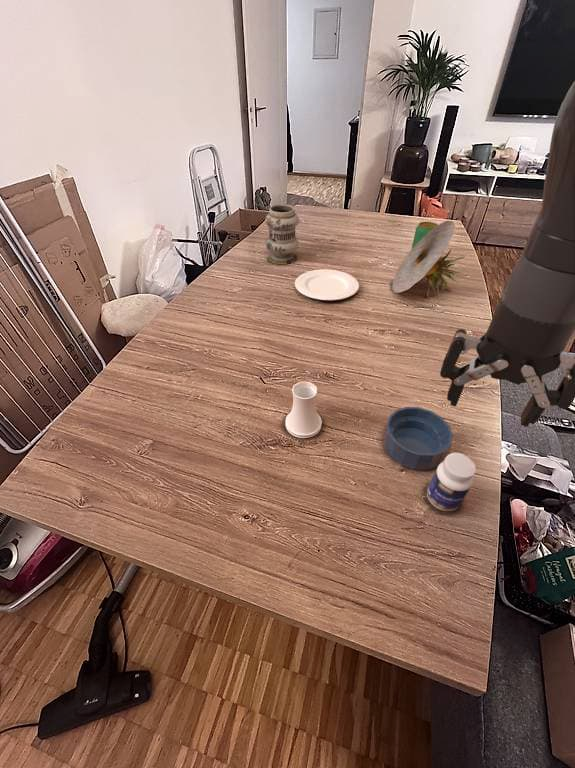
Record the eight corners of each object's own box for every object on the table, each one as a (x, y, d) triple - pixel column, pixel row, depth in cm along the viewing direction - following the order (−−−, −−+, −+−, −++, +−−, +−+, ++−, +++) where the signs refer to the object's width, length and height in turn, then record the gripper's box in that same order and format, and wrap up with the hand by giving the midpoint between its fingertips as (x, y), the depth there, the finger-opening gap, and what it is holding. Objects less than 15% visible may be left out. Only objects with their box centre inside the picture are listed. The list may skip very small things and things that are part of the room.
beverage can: (428, 253, 143) (436, 220, 135) (434, 262, 137) (443, 229, 129) (407, 253, 143) (414, 221, 135) (412, 262, 137) (420, 229, 129)
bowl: (456, 447, 74) (464, 430, 71) (423, 483, 68) (430, 466, 65) (405, 414, 81) (410, 398, 77) (370, 444, 75) (374, 428, 71)
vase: (312, 443, 75) (314, 408, 68) (279, 430, 78) (278, 395, 71) (326, 418, 80) (330, 383, 73) (295, 407, 83) (295, 372, 76)
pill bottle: (426, 508, 64) (442, 475, 58) (425, 480, 69) (440, 446, 62) (461, 516, 63) (481, 483, 57) (458, 487, 68) (477, 453, 61)
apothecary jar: (280, 268, 133) (279, 216, 121) (259, 257, 140) (256, 207, 128) (305, 259, 139) (306, 208, 127) (284, 249, 146) (284, 200, 134)
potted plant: (420, 333, 116) (497, 279, 102) (383, 293, 111) (459, 231, 98) (415, 301, 136) (479, 253, 122) (383, 266, 131) (446, 212, 118)
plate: (281, 289, 122) (281, 284, 121) (321, 268, 133) (321, 263, 132) (332, 312, 112) (333, 306, 110) (371, 287, 123) (371, 282, 122)
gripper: (465, 304, 38) (427, 414, 49) (633, 336, 33) (550, 450, 44) (471, 273, 43) (436, 379, 54) (619, 298, 39) (547, 408, 49)
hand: (487, 411), depth 49 cm, fingers open, 8 cm apart
